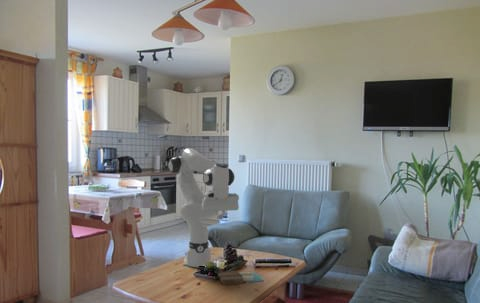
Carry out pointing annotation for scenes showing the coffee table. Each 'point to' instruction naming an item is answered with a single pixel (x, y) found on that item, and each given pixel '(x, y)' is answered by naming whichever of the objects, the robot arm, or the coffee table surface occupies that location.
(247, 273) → the birch tile
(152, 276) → the coffee table surface
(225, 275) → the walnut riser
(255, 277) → the teal mat
